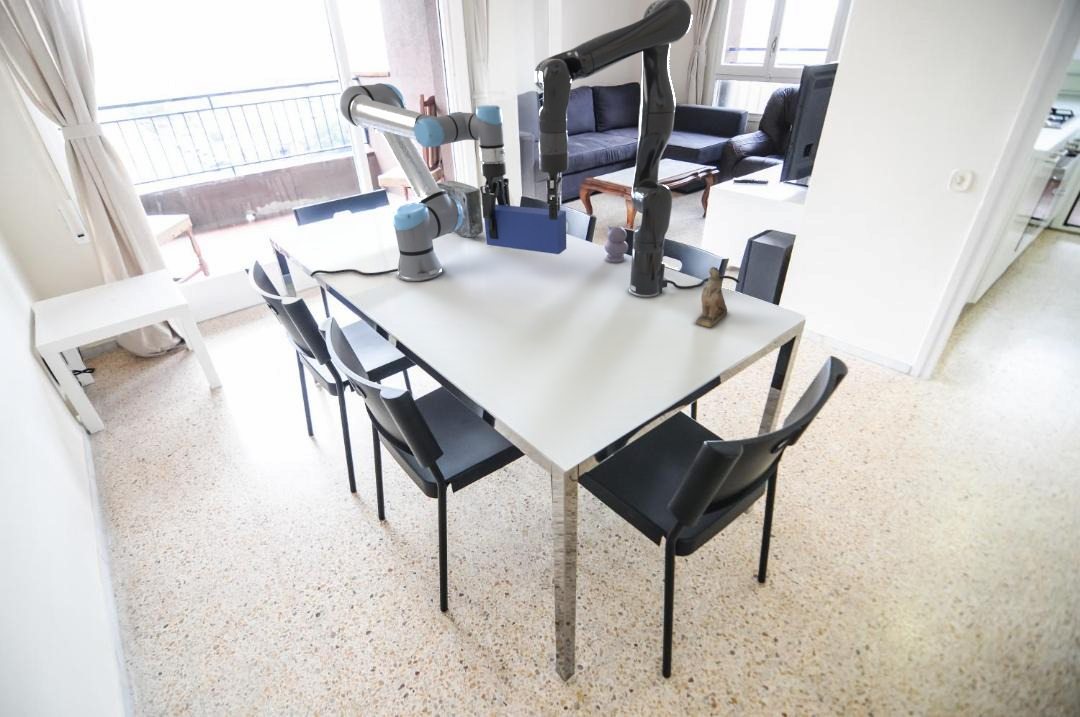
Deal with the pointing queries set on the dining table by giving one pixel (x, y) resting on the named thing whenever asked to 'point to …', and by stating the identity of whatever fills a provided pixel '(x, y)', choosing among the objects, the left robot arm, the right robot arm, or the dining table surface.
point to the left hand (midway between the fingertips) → (498, 235)
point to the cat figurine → (616, 244)
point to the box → (528, 229)
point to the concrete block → (466, 206)
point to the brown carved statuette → (712, 301)
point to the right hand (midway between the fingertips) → (554, 214)
